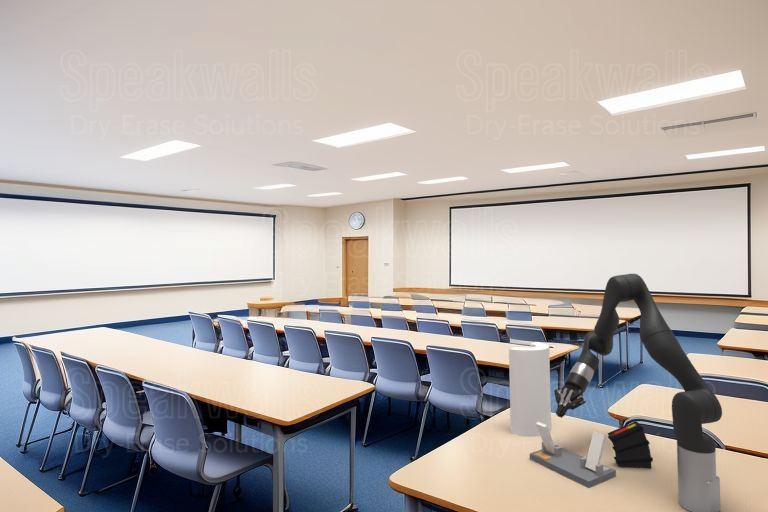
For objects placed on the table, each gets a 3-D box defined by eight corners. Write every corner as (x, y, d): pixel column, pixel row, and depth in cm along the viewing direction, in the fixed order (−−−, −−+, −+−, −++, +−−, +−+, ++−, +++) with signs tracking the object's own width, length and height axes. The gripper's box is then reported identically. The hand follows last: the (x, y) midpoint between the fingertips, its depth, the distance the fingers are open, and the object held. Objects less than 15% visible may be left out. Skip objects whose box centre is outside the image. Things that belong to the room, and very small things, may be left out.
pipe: (509, 432, 187) (536, 420, 200) (533, 440, 178) (560, 427, 191) (507, 348, 187) (535, 341, 200) (531, 352, 178) (558, 345, 191)
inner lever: (598, 472, 146) (606, 435, 149) (595, 471, 146) (604, 434, 148) (587, 467, 150) (595, 431, 152) (585, 466, 149) (593, 430, 152)
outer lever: (557, 452, 160) (546, 425, 158) (555, 454, 160) (544, 427, 157) (548, 448, 164) (537, 421, 161) (546, 450, 163) (535, 423, 161)
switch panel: (616, 476, 148) (615, 461, 148) (588, 487, 141) (588, 471, 141) (555, 450, 169) (555, 436, 169) (529, 458, 162) (529, 445, 162)
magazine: (662, 464, 152) (641, 424, 153) (625, 479, 153) (605, 439, 154) (657, 459, 156) (636, 420, 157) (621, 474, 157) (601, 435, 158)
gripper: (560, 368, 175) (539, 405, 168) (590, 375, 163) (569, 415, 157) (569, 379, 177) (549, 416, 171) (600, 387, 166) (579, 427, 159)
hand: (558, 416), depth 164 cm, fingers closed
